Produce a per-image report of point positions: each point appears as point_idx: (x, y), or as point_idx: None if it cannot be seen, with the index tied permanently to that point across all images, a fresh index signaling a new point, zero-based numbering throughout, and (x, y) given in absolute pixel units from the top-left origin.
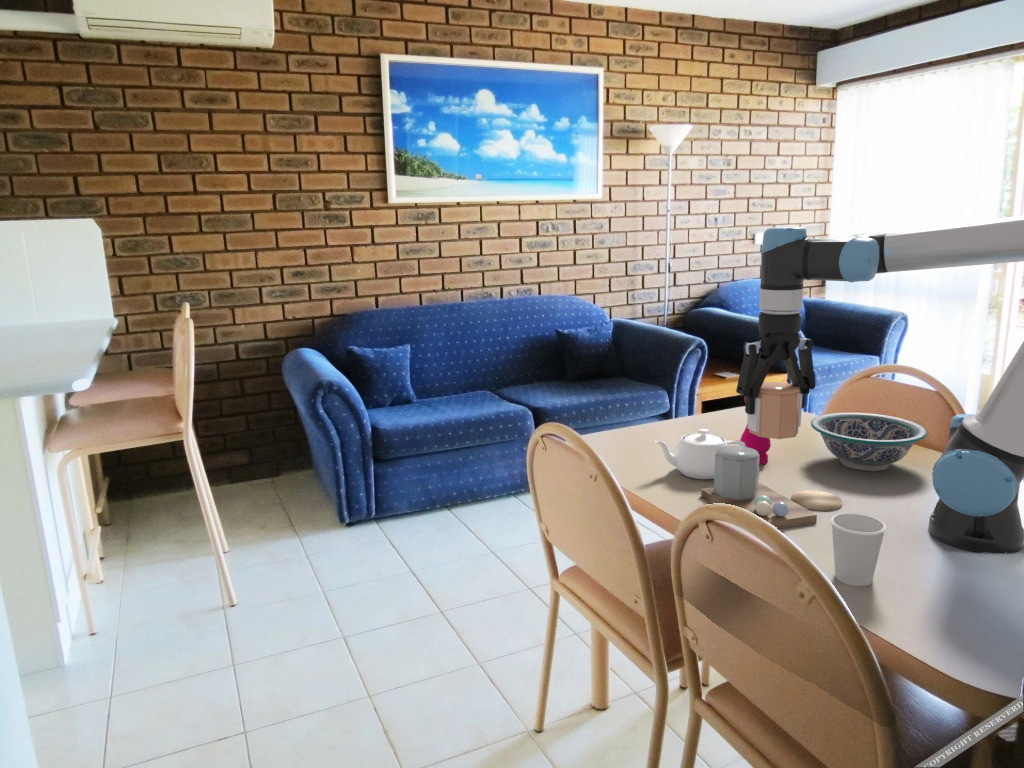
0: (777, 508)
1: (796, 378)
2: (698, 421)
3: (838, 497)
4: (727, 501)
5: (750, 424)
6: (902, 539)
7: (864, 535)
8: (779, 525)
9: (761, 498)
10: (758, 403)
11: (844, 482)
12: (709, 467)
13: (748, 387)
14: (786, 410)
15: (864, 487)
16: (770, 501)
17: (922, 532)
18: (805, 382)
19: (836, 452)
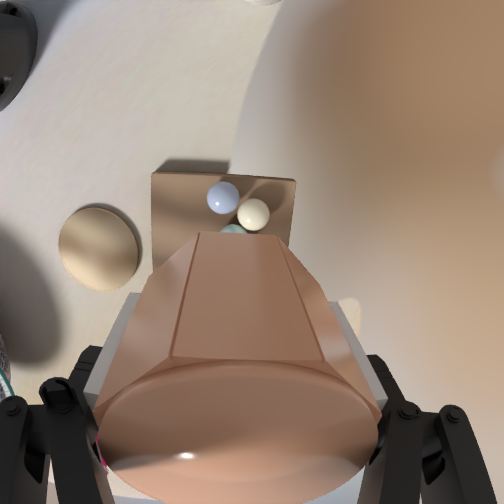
0: (237, 192)
1: (98, 487)
2: (124, 490)
3: (59, 242)
4: None
5: None
6: (75, 66)
7: None
8: (238, 175)
9: None
10: (371, 381)
11: (22, 295)
12: None
13: (457, 439)
14: (261, 294)
15: (6, 267)
16: (224, 230)
17: (32, 84)
18: (36, 448)
19: (4, 353)
